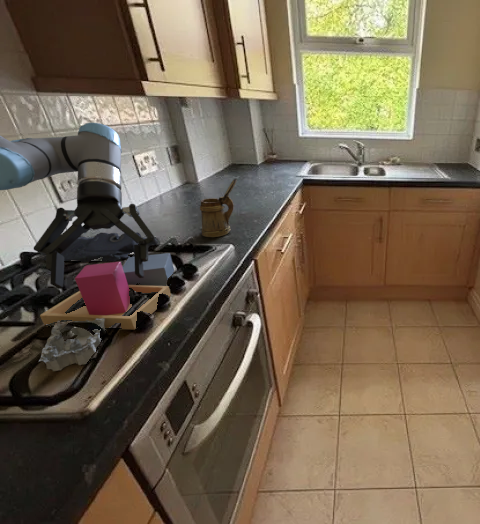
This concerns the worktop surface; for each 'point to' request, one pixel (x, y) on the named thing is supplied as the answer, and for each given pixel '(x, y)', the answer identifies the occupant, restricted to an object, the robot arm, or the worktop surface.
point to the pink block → (104, 288)
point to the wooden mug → (217, 214)
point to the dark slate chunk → (100, 248)
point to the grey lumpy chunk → (70, 346)
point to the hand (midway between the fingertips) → (99, 280)
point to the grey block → (150, 270)
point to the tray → (83, 315)
